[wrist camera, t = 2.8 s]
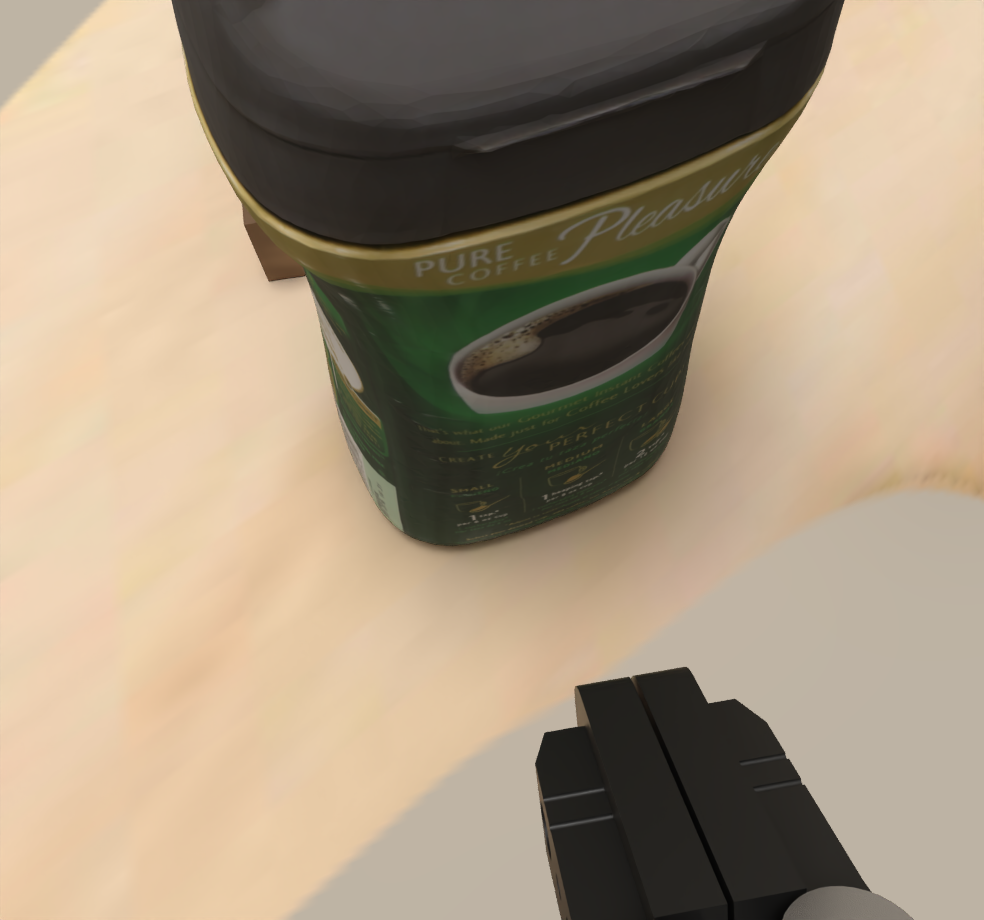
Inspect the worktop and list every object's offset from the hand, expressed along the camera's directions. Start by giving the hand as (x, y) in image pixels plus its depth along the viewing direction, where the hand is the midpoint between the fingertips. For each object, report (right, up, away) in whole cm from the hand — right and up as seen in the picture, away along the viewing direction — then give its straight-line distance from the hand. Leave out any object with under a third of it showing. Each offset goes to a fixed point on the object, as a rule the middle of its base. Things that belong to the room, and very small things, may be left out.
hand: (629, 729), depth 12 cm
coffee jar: (-2, +5, +16) cm, 16 cm away
